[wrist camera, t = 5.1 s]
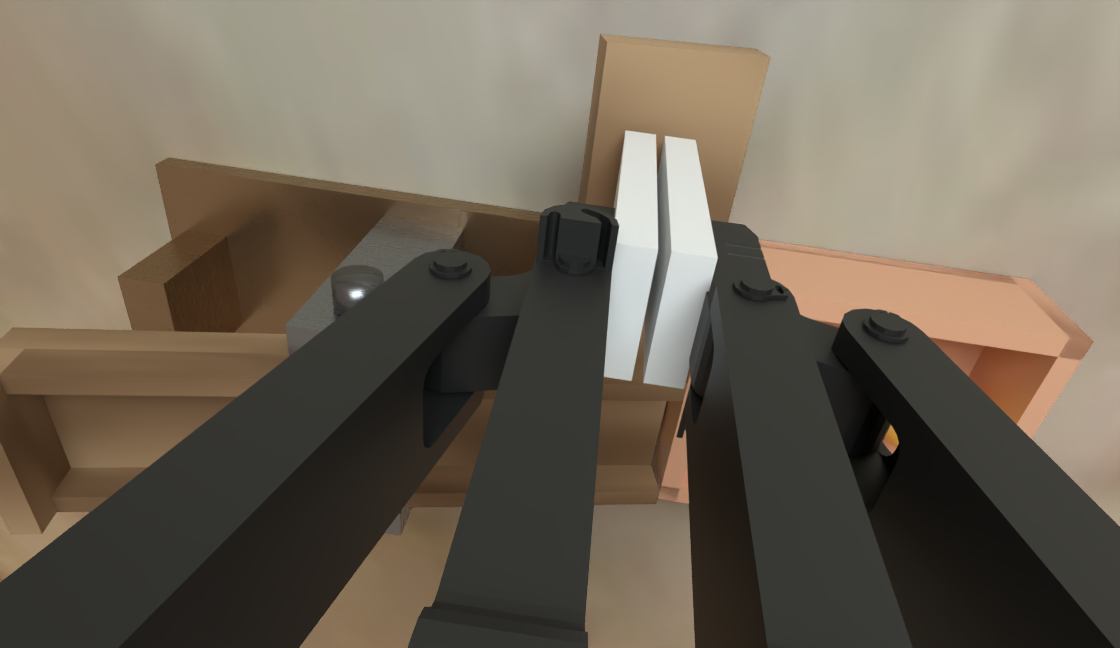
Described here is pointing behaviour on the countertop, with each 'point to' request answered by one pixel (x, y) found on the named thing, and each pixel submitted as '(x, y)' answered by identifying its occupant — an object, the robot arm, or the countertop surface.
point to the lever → (244, 358)
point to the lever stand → (299, 251)
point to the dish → (941, 313)
